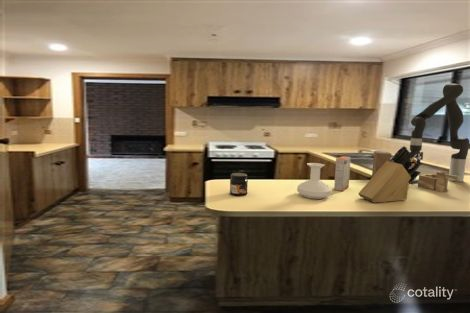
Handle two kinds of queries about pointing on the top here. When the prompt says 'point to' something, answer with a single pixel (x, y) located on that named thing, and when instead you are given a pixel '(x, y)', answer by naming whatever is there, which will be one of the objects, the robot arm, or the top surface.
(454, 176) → the wooden peg
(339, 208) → the top surface
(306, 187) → the white vase
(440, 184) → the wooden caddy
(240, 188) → the supplement container
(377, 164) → the wooden block
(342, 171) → the cracker box
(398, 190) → the knife block
